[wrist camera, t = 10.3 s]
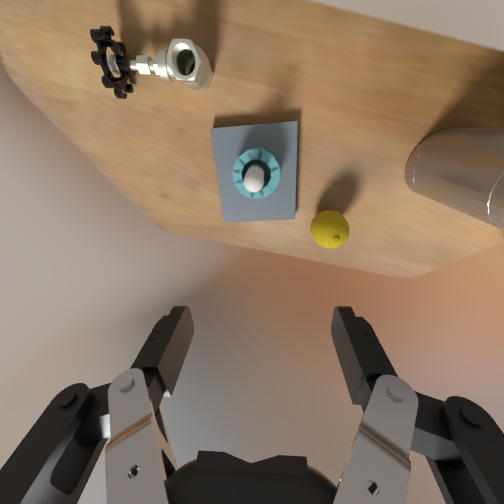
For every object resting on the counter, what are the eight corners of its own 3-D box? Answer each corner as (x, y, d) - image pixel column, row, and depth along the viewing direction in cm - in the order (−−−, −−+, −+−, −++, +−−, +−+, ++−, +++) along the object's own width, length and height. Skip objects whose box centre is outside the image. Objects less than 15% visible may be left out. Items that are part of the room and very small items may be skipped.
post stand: (296, 121, 30) (309, 117, 21) (294, 215, 37) (303, 244, 28) (212, 128, 31) (190, 128, 22) (225, 219, 38) (213, 247, 29)
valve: (214, 40, 27) (118, 36, 27) (200, 16, 21) (79, 12, 21) (216, 104, 30) (131, 101, 30) (205, 99, 24) (100, 94, 24)
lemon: (303, 210, 37) (312, 229, 30) (336, 199, 35) (353, 216, 28) (311, 238, 39) (321, 261, 32) (342, 228, 38) (359, 250, 31)
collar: (278, 145, 30) (279, 147, 27) (278, 191, 34) (280, 197, 31) (233, 149, 31) (229, 151, 28) (238, 193, 34) (235, 199, 31)
